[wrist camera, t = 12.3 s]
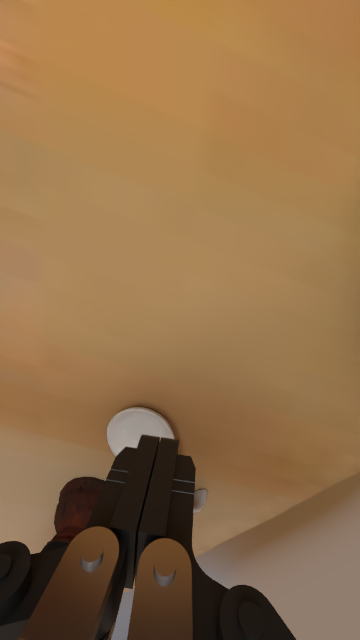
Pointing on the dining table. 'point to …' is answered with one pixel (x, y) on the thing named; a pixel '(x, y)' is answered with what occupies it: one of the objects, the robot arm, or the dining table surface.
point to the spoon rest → (147, 422)
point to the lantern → (74, 510)
